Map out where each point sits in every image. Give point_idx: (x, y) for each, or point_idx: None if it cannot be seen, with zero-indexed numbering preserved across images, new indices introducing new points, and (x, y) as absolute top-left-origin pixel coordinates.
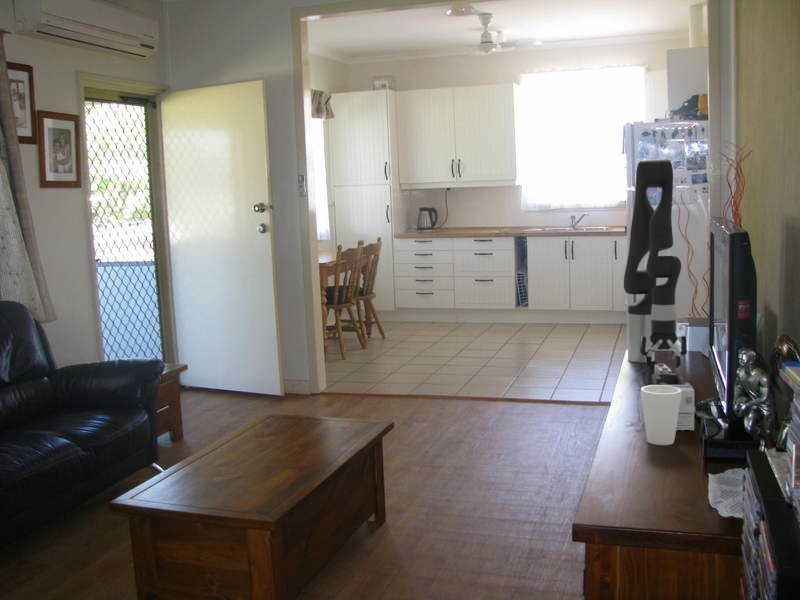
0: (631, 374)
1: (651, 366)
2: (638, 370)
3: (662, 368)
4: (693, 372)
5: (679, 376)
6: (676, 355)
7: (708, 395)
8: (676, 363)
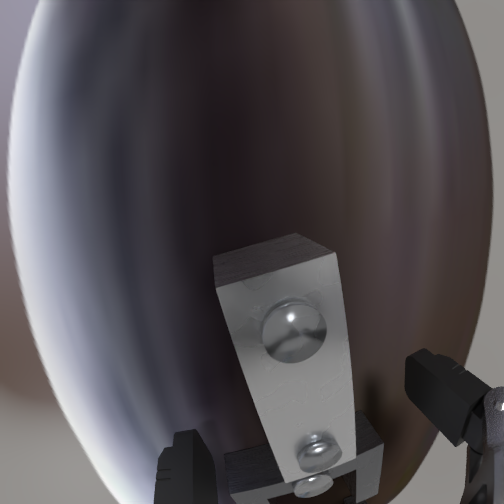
0: (46, 257)
1: (214, 471)
2: (79, 94)
3: (302, 470)
4: (448, 108)
5: (371, 479)
6: (470, 430)
7: (405, 483)
8: (424, 411)
